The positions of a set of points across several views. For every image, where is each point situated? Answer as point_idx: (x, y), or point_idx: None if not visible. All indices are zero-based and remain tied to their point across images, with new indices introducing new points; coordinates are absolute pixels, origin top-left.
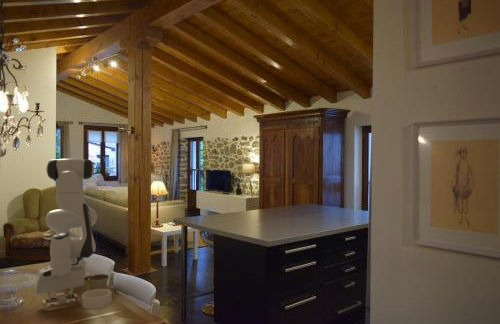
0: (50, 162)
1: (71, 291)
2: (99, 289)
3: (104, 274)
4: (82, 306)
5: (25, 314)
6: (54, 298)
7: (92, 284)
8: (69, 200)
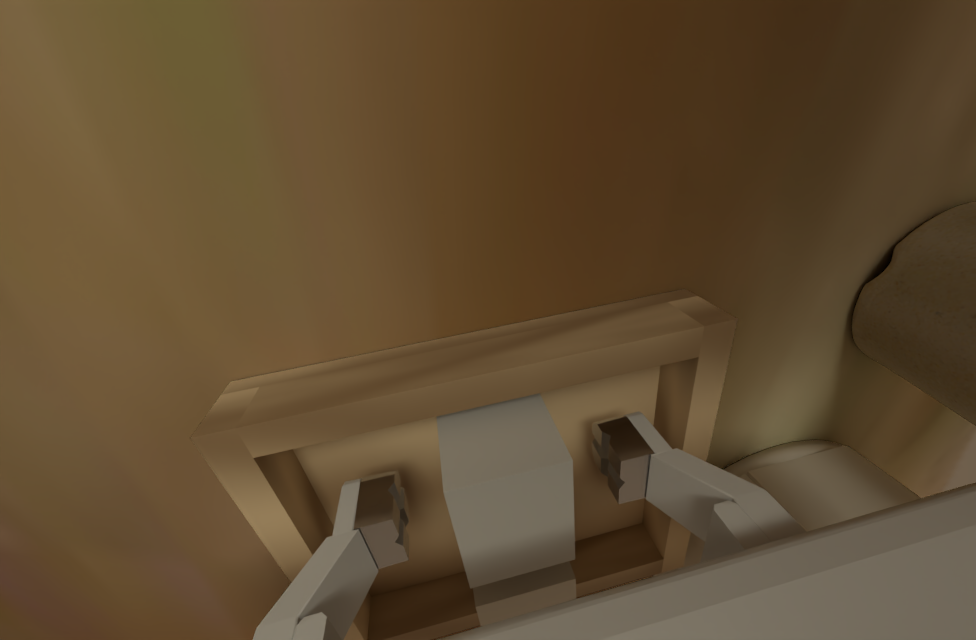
0: None
1: (693, 531)
2: None
3: None
4: (656, 574)
5: (140, 608)
6: (411, 411)
7: None
8: None
